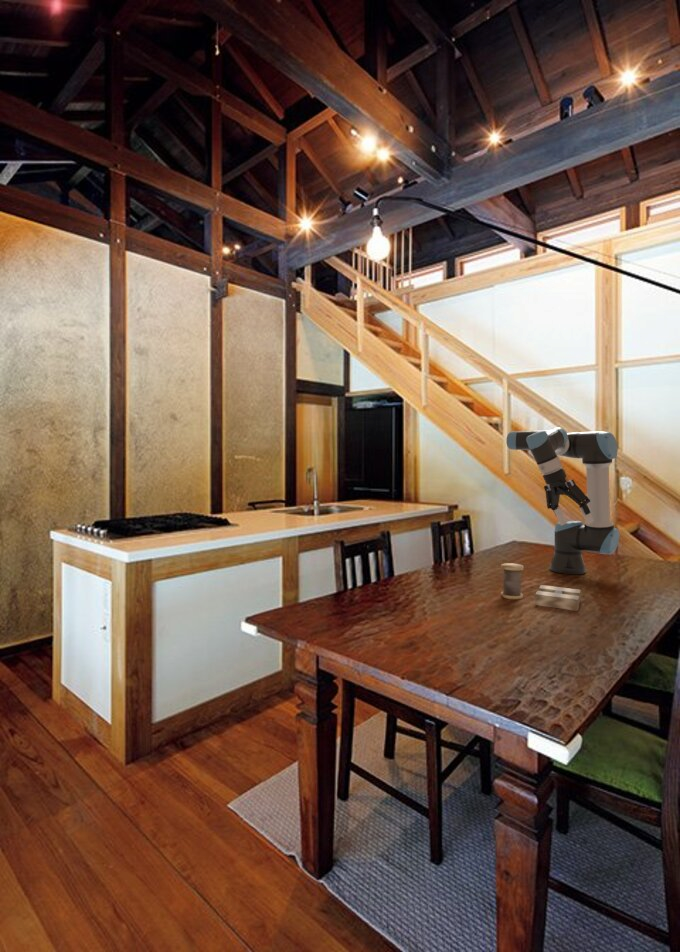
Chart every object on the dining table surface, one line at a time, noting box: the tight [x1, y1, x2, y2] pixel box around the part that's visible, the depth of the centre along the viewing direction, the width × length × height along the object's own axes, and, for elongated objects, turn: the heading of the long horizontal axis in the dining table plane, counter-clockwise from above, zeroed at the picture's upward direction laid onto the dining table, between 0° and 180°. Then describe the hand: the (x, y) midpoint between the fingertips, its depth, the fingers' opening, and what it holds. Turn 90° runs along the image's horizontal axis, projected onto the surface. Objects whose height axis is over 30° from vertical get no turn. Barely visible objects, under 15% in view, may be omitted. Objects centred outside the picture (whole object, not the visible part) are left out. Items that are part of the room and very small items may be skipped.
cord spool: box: [500, 562, 524, 600], centre depth 192 cm, size 8×8×12 cm
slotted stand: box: [534, 584, 582, 612], centre depth 184 cm, size 14×14×4 cm
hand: (576, 523), depth 184 cm, fingers open, 13 cm apart
